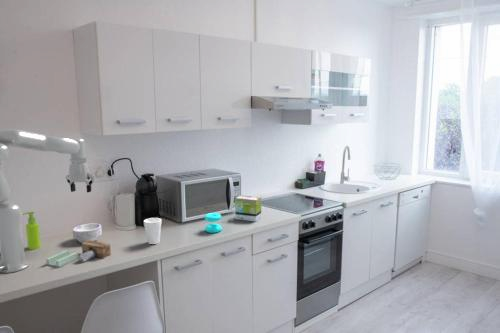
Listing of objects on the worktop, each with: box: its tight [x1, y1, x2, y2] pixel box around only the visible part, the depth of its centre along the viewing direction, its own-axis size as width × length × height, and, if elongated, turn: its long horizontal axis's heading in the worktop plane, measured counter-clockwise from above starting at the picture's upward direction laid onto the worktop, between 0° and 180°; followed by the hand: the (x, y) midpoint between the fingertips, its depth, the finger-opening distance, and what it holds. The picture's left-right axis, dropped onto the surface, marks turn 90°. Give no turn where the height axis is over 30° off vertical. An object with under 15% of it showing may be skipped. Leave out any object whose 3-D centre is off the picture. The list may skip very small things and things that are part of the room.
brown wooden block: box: [81, 240, 112, 259], centre depth 203 cm, size 5×14×6 cm, turn 67°
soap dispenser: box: [22, 211, 41, 251], centre depth 213 cm, size 6×7×20 cm
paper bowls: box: [72, 223, 103, 244], centre depth 225 cm, size 15×15×8 cm
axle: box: [78, 248, 97, 263], centre depth 200 cm, size 14×4×4 cm, turn 157°
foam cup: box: [143, 217, 163, 245], centre depth 218 cm, size 10×9×13 cm
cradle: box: [45, 250, 80, 268], centre depth 195 cm, size 12×9×3 cm
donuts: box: [204, 212, 223, 234], centre depth 238 cm, size 10×10×10 cm
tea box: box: [234, 194, 262, 223], centre depth 261 cm, size 15×10×15 cm, turn 67°
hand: (81, 191), depth 219 cm, fingers open, 9 cm apart
